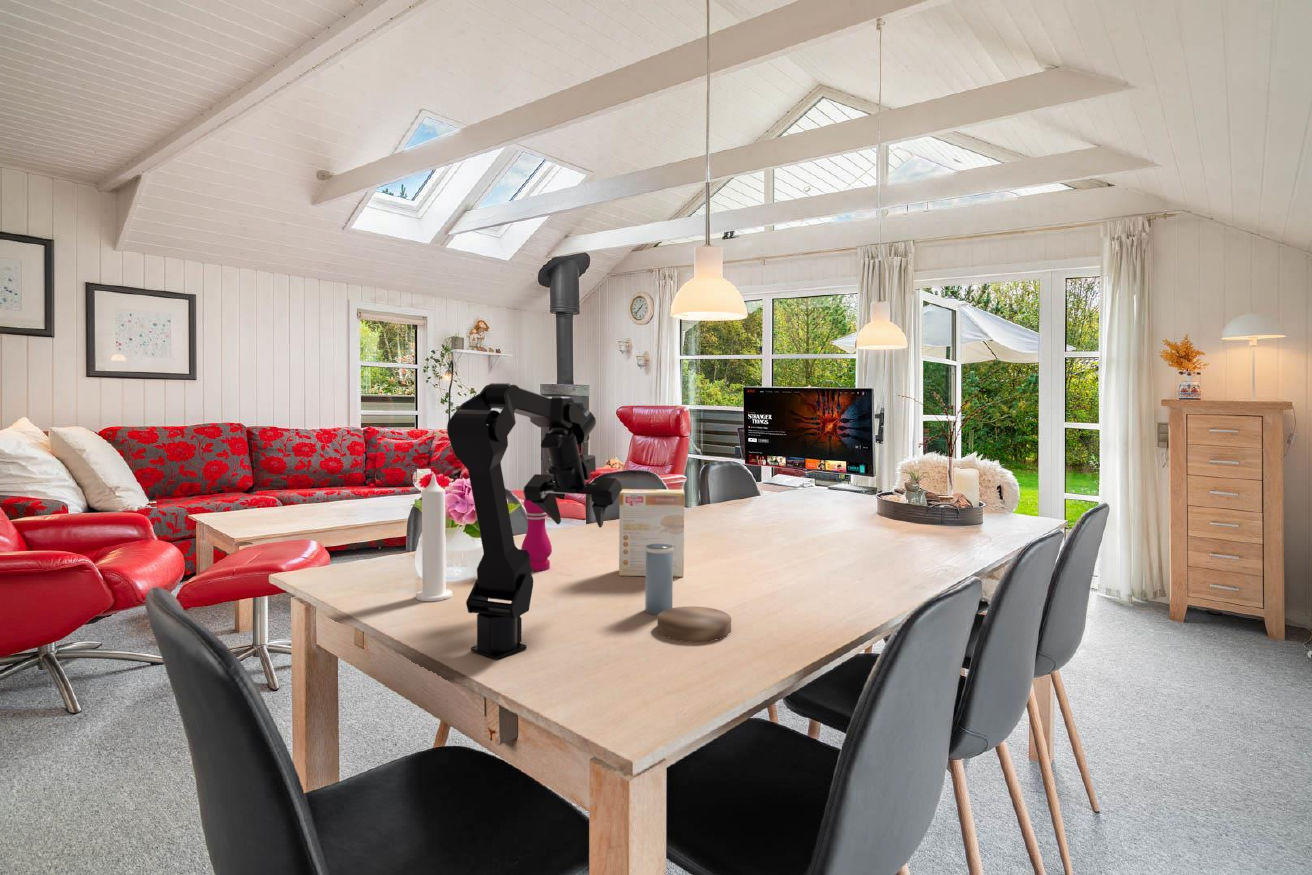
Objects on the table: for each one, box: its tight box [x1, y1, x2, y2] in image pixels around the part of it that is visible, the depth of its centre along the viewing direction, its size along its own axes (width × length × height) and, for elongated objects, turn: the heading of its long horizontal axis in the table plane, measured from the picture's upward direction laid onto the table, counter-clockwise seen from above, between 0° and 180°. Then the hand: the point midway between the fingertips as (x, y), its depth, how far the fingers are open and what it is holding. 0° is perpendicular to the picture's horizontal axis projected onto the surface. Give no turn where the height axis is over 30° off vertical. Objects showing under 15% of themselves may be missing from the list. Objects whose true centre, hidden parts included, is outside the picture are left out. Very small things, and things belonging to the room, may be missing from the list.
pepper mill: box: [520, 498, 553, 572], centre depth 167 cm, size 7×7×20 cm
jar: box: [644, 544, 674, 616], centre depth 135 cm, size 5×5×12 cm
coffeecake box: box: [618, 488, 685, 578], centre depth 164 cm, size 15×7×20 cm, turn 88°
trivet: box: [656, 605, 732, 643], centre depth 124 cm, size 13×13×2 cm
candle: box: [415, 473, 453, 602], centre depth 142 cm, size 7×7×25 cm
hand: (579, 524), depth 141 cm, fingers open, 9 cm apart
